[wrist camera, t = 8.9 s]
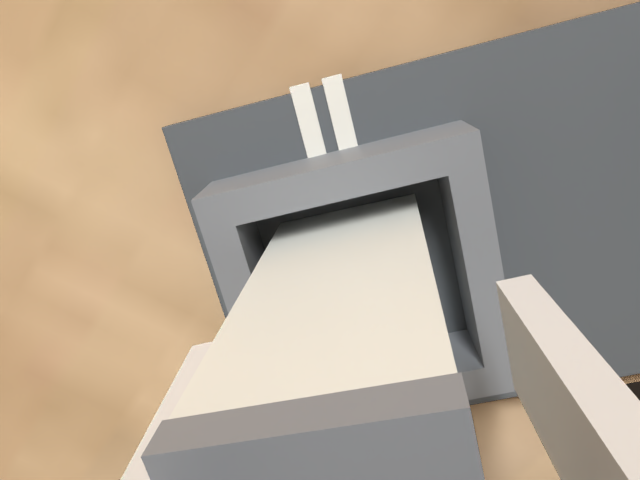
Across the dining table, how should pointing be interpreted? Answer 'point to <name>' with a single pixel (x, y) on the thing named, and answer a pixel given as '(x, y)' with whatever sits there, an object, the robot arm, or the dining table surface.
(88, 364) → the dining table surface
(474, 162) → the patch panel
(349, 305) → the plug
